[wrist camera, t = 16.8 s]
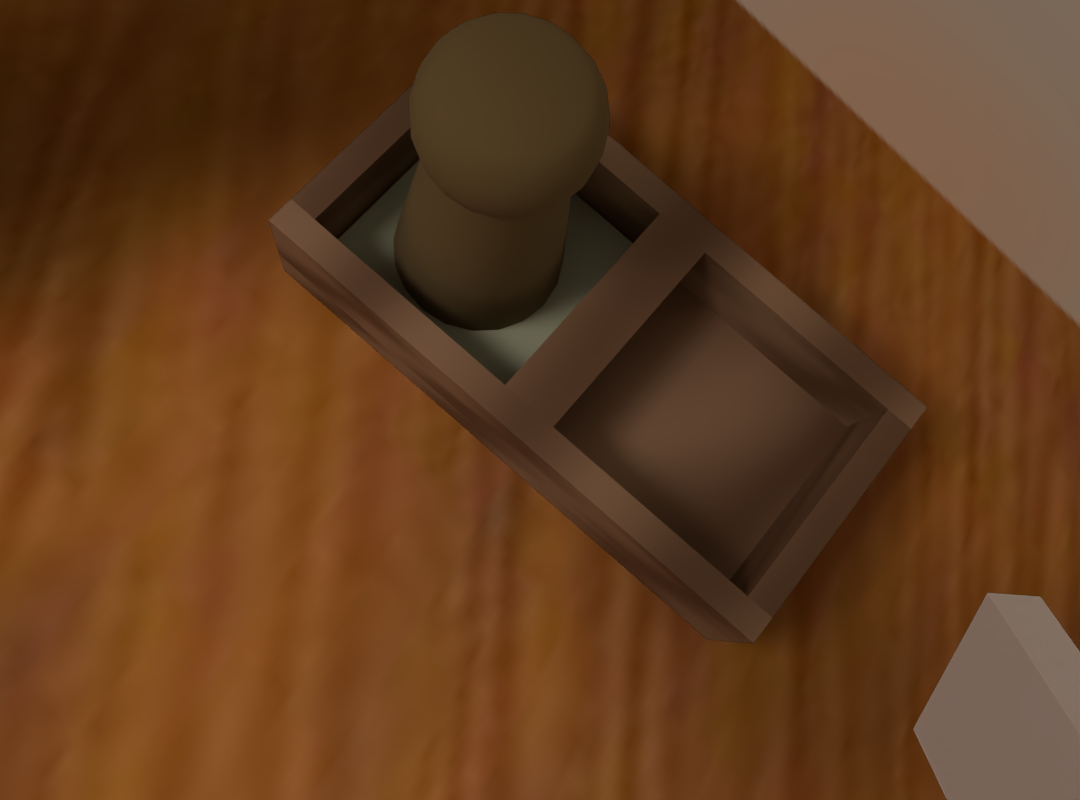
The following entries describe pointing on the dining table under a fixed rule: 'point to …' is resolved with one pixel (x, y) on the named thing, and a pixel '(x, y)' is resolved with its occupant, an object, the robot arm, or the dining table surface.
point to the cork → (497, 167)
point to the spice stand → (628, 378)
